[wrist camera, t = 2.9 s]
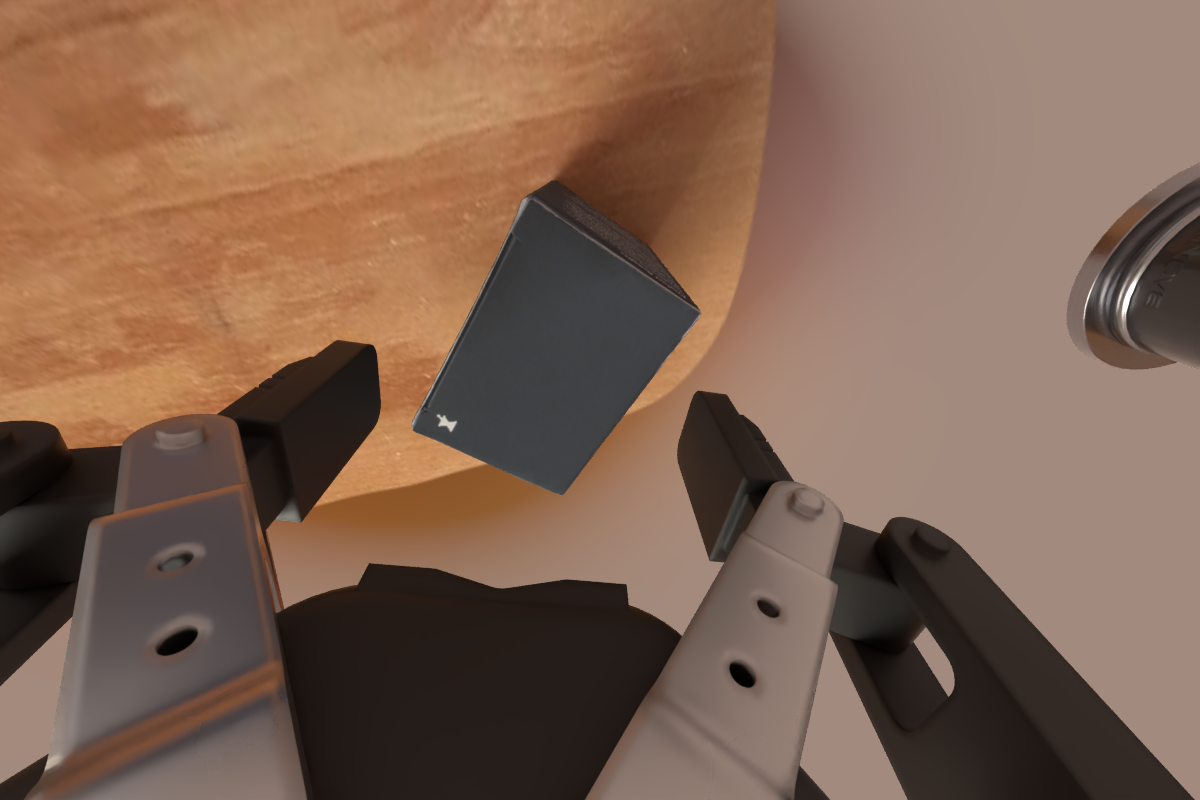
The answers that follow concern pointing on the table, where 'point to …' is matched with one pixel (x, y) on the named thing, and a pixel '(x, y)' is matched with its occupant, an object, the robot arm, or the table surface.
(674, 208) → the table surface
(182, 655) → the robot arm
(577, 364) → the box
